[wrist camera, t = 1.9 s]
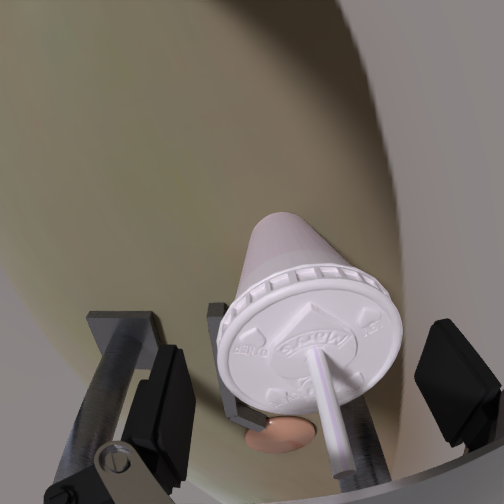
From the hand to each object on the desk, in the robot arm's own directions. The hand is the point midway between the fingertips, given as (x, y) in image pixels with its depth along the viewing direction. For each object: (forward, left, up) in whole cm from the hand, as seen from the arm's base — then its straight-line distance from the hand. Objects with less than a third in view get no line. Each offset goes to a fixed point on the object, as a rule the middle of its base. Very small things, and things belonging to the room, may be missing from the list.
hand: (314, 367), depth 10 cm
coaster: (+20, 0, -9) cm, 22 cm away
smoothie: (-1, 0, -9) cm, 9 cm away
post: (+6, -11, -9) cm, 16 cm away
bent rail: (+10, -3, -9) cm, 14 cm away
